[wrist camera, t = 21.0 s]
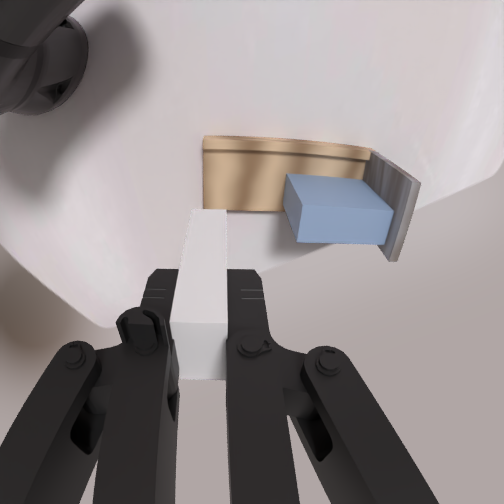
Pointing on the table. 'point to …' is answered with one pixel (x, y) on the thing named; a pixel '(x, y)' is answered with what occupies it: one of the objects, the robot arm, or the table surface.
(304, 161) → the shelf
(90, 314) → the table surface
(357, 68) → the table surface
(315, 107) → the table surface
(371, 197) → the slim book
